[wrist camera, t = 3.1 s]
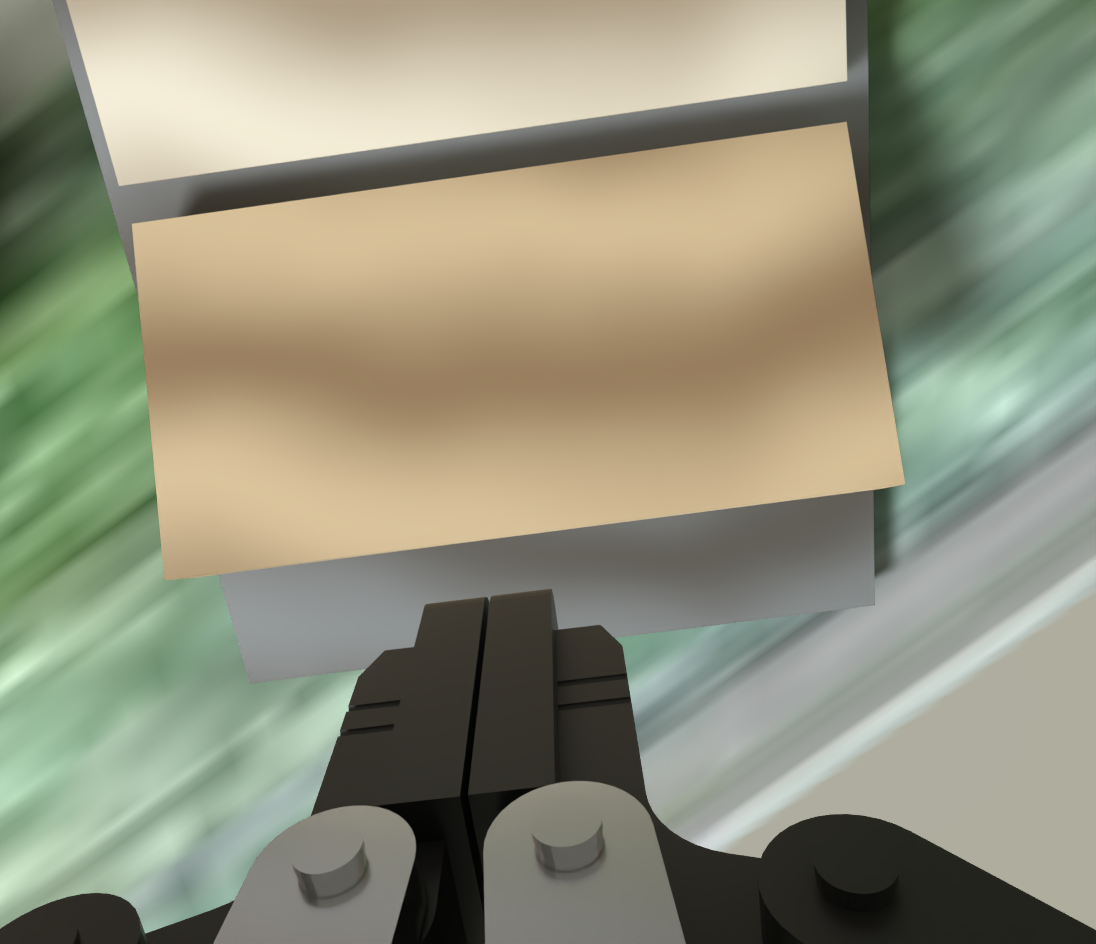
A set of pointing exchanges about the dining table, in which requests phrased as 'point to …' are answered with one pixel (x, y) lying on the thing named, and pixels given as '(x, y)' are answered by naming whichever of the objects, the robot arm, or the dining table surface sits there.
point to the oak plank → (513, 353)
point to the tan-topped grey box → (463, 150)
